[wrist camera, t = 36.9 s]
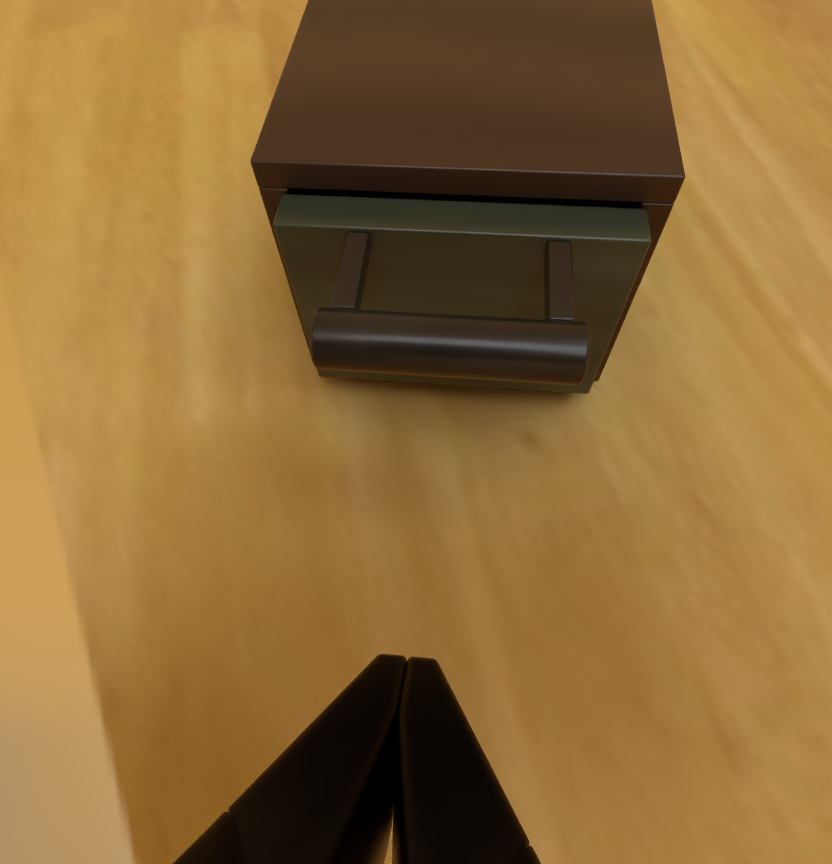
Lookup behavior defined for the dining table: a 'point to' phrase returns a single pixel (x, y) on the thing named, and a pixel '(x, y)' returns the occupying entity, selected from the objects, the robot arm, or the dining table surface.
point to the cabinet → (476, 106)
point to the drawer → (460, 287)
